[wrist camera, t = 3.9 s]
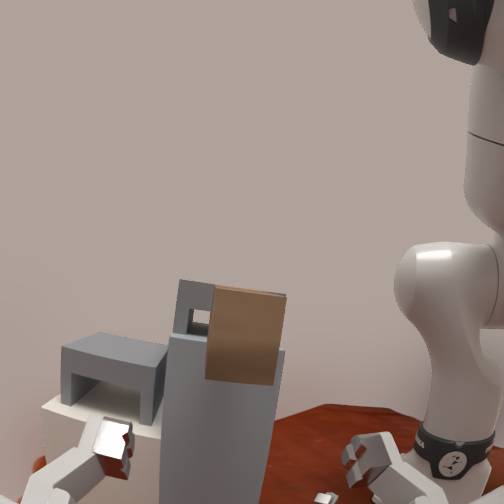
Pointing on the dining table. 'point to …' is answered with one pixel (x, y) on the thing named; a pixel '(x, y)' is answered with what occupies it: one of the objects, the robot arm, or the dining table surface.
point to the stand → (166, 414)
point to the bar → (244, 335)
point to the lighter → (325, 498)
